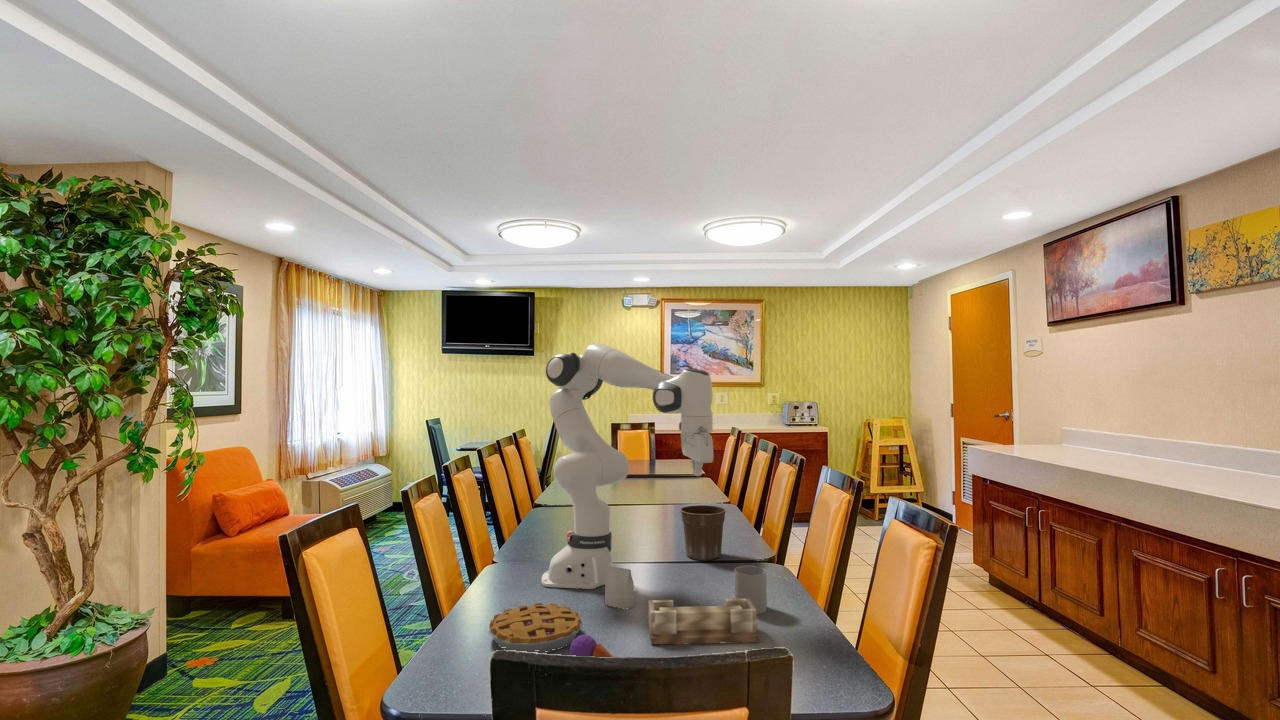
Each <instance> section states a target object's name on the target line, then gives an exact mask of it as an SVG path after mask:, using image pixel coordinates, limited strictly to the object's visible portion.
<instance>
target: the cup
mask: <svg viewBox="0 0 1280 720" xmlns="http://www.w3.org/2000/svg"><path fill="white" fill-rule="evenodd" d="M767 596H768V595H767V570H766V569H765V568H763V567H760V566H757V565H740V566H736V567H735V568H734V599H750V601H751V602H752V604H753V605H754V607H755V609H756V610H757V615H760V614H763V613H766V611H767V604H768V603H767V601H768V600H767V599H768V598H767Z"/></svg>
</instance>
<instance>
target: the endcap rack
mask: <svg viewBox="0 0 1280 720" xmlns="http://www.w3.org/2000/svg"><path fill="white" fill-rule="evenodd" d="M731 605H740V606H741V607H742V609H730V610H731V629H713V630H682V631H676V610H665V611H659V608H661V607H674V600H673V599H660V600H659V599H658V600H657V599H653V600H648V618H647V627H648V626H649V627H648V633H649V638H650V645H651V644H676V645H685V644H684V643H720V642H743V643H742V644H750V643H749V642H756V643H757V644H760V635H759V633H758V614H757V610H756V609H755V607H754V605H753V604H752V602H751V601H750V599H735V598H725V599H724V606H731ZM747 642H748V643H747ZM756 643H755V644H756ZM720 644H721V643H720Z"/></svg>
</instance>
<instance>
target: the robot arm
mask: <svg viewBox="0 0 1280 720" xmlns="http://www.w3.org/2000/svg"><path fill="white" fill-rule="evenodd" d="M545 377H546V378H547V380H548V381H549V382H550V383H552V384H553V385H554V386H556V387H558V389H556V390H555V391H554V392H552V394H551V395H550V398H549V409H550V414H551V418H552V421H553V423H554V427H555V428H556V431H557V433H558V436H559V439H560V440H561V443H562V445H563V446H564V447H565V448H566V449H567V450H570V451H572V453H569V454H566V455H562V456H560V457H558V459H557V460H556V461H555V463H554V467H553V478H554V481H555V482H556V484H557V485H558V487H560V488H561V490H562V489H563V490H564V492H565V493H566V494H567V495H568V497H569V499H570V501H571V504H572V508H573V509H572V510H573V523H574V524H573V525H574V526H573V527H574V528H573V530H574V531H572V530H568V531H567V533H566V538H567V545H566V546H565V547H563V548H562V549H561V550H560V551H558V552H557V553H555V555H554V556H553V557H552V558H551V560H550V563H549V565H548V570H546V571H545V572H544V573H543V574H542V576H541V580H540V582H541V585H542V586H543V587H546V588H559V589H560V588H563V589H565V588H566V589H580V588H581V589H582V590H583V589H585V590H593V589H596V587H597V588H598V587H600V586H601V587H602V586H605V582H606V577H607V573H608V567H609V566H613V559H612V548H613V536H612V531H611V508H610V506H609V504H608V503H607V502H606V501H605V500H603V499H601V498H599V496H598V494H597V487H598V488H599V487H604V486H612V485H615V484H617V483H620V482H622V481H624V480H626V478H627V477H628V474H629V471H630V462H629V460H628V459H629V458H627V456H626V454H625V453H623V452H622V451H620V450H617V449H616V448H614V447H612V446H611V445H610V444H609V443H608V442H607V441H605V440H604V439H603V437H601V435H600V434H599V433H598V432H597V430H596V429H595V427H594V425H593V422H592V421H591V418H590V417H589V414H588V413H587V410H586V408H585V406H584V404H583V400H584V401H585V400H588V399H590V398H591V396H593V395H594V394H596V393H597V392H598V391H599V390H600V389H601V387H602V385H603V382H604V383H606V384H608V385H611V386H615V387H617V388H625V389H626V388H627V389H628V388H631V389H632V388H633V389H635V388H636V389H637V388H638V389H647V390H652V391H653V392H652V402H653V405H654V407H655V409H656V410H657V411H659V412H661V413H664V414H668V415H669V414H680V416H681V417H680V419H681V420H680V422H679V424H678V431H680V442H681V443H680V444H681V445H680V446H681V452H682V455H683V456H685V457H688V458H689V459H690V463H691V468H692V474H693V475H694V476H696V477H701V476H702V473H703V472H702V471H703V470H702V469H703V467H704V464H708V463H709V464H710V463H713V462H714V444H713V443H714V441H713V437H712V435H711V433H713V429H714V428H713V427H714V425H713V423H714V422H713V412H712V403H713V384H712V383H713V382H712V378H711V375H710V374H709V373H708V372H707V371H705V370H702V369H697V368H685V369H683V370H682V371H681V372H680V373H679V374H678V375H676V376H675V377H674V376H672V375H669V374H667V373H665V372H663V371H660V370H657V369H656V368H653V367H651V366H649V365H647V364H645V363H643V362H641V361H639V360H637V359H636V358H634V357H632V356H630V355H629V354H627V353H625V352H623V351H621V350H619V349H617V348H616V347H615V348H614V347H612V346H609V345H607V344H602V343H592V344H590V345H588V346H587V347H586V348H585V350H584V352H583V353H582V354H580V355H578V354H577V353H576V352H569V353H561V354H557V355H554V356H553V357H551V358H550V359H549V361H548V362H547V364H546V367H545ZM709 433H710V434H709Z"/></svg>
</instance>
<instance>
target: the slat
mask: <svg viewBox="0 0 1280 720" xmlns="http://www.w3.org/2000/svg"><path fill="white" fill-rule="evenodd" d="M730 609H742V607H741V606H740V605H731V606H725V605H703V606H702V605H699V606H673V607H661V608H659V611H665V610H676V631H682V630H713V629H731V610H730Z"/></svg>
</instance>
